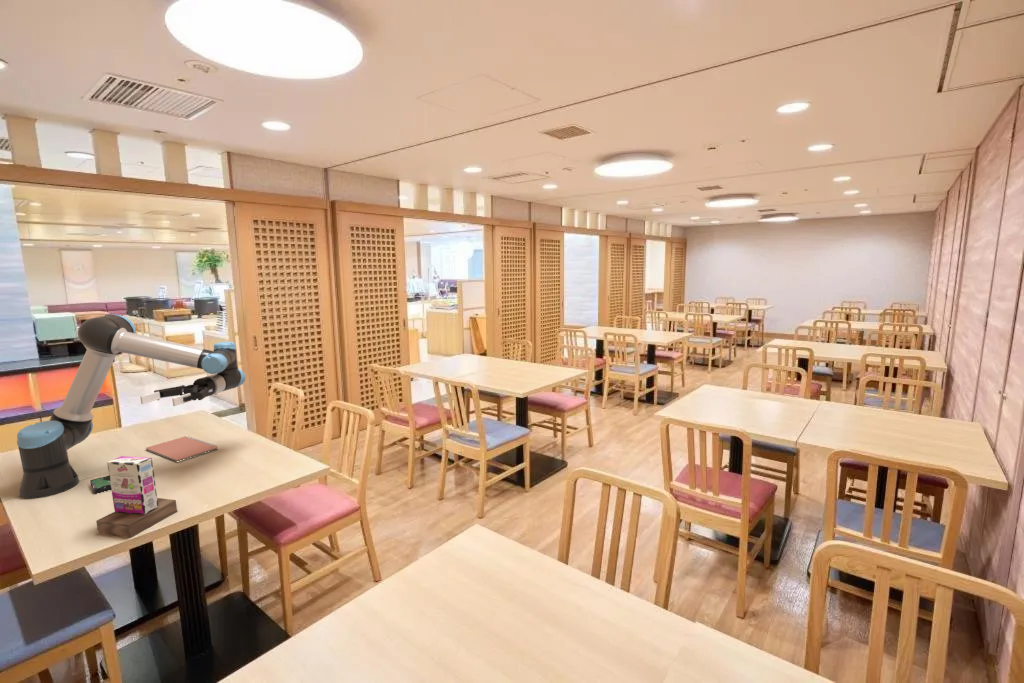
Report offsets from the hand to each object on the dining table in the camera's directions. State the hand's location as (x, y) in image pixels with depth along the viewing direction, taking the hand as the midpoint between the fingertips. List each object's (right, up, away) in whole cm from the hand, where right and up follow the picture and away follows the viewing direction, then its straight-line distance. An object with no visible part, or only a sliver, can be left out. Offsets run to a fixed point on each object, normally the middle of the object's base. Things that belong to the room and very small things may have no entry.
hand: (157, 401), depth 162 cm
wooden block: (+8, -35, -17) cm, 40 cm away
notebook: (-19, -27, +41) cm, 53 cm away
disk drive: (-21, -32, +10) cm, 39 cm away
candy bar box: (+8, -31, -18) cm, 37 cm away
